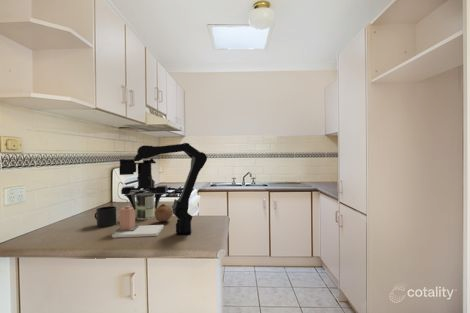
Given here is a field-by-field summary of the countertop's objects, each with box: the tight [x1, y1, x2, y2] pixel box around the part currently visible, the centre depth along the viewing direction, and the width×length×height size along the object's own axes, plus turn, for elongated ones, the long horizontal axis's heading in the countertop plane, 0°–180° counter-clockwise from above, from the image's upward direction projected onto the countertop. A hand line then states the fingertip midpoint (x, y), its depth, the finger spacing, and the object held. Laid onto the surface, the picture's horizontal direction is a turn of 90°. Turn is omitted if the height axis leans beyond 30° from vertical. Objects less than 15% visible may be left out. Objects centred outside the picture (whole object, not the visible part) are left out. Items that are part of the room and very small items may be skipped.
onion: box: [154, 203, 173, 223], centre depth 141 cm, size 10×9×10 cm
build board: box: [111, 224, 164, 239], centre depth 124 cm, size 20×14×2 cm
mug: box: [94, 205, 118, 228], centre depth 138 cm, size 9×12×9 cm
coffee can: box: [135, 192, 155, 221], centre depth 152 cm, size 10×10×14 cm
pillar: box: [119, 205, 136, 230], centre depth 125 cm, size 5×5×11 cm
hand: (145, 209), depth 114 cm, fingers open, 9 cm apart
